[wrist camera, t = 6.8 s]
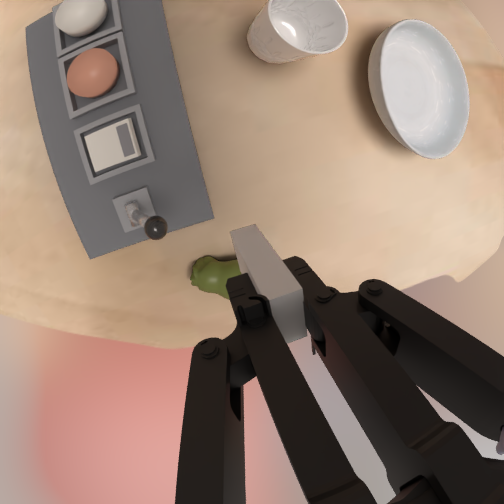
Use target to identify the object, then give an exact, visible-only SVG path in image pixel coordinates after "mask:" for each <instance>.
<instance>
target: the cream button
mask: <svg viewBox="0 0 504 504" xmlns="http://www.w3.org/2000/svg"><path fill="white" fill-rule="evenodd" d="M107 12H108V7H107V4H106V2H105V1H104V0H64V1H63V2H62V4H61V5H60V6H59V8H58V10H57V12H56V15H55V23H56V26H57V27H58V28H59V29H61V30H62V31H63V32H65V33H66V34H68V35H69V36H72V37H81V36H85V35H87V34H89V33H91V32H93V31H94V30H96V29H97V28H98V27H99V26H100V25H101V24H102V23H103V21H104V20H105V18H106V15H107Z"/></svg>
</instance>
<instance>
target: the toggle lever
mask: <svg viewBox="0 0 504 504" xmlns="http://www.w3.org/2000/svg"><path fill="white" fill-rule="evenodd" d="M124 207H125V210H126V213H127V215H128V218H129V220H130V223H131V225H132V227H136V226H139V225H141V226H143V227H144V231H145V234H146V235H147V237H149V238H150V239H152V240H159V239H161V238H163V237H164V236H165V235H166V233H167V230H168V225H167V222H166V220H165V219H164V218H163V217H161V216H157V215H155V216H151V217H150V216H148V215H146V214H145V213H143V212H141V211H140V209H139V207H138V204H137V201H136V200H133V201H130V202H128V203H126V204H125V205H124Z"/></svg>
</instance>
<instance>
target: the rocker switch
mask: <svg viewBox="0 0 504 504" xmlns="http://www.w3.org/2000/svg"><path fill="white" fill-rule="evenodd" d="M84 138H85V141H86V144H87V148H88V151H89V154H90V158H91V161H92V164H93V167H94V170H95V172H97V171H100V170H102V169H105V168H107V167H110V166H113V165H116V164H118V163H121V162H124V161H127V160H130V159H132V158H135V157H138V156H140V155H141V152H140V148H139V145H138V141H137V138H136V134H135V131H134V127H133V123H132V120H131V118H127V119H125V120H122V121H120V122H117V123H115V124H112V125H110V126H107V127H105V128H103V129H100V130H98V131H96V132H94V133H91V134H89V135H87V136H85V137H84Z"/></svg>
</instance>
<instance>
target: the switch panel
mask: <svg viewBox="0 0 504 504" xmlns="http://www.w3.org/2000/svg"><path fill="white" fill-rule="evenodd" d="M104 1H105V2H106V4H107V7H108V12H107V15H106V18H105V20H104V21H103V23H102V24H101V25H100V26H99V27H98V28H97V29H96V30H94V31H93V32H91V33H89V34H87V35H85V36H81V37H72V36H69V35H68V34H66V33H65V32H63V31H62V30H61V29H59V28H58V27H57V26H56V23H55V15H56V12H57V10H58V8H59V6H60V5H61V4H62V3H60V4H58V5H56V6H54V7H53V8H52V10H53V12H51V13H49V14H47V15H46V16H44V17H42V18H40V19H39V20H37V21H35V22H34V23H32V24H30V25H29V26H27V27H26V43H27V54H28V63H29V71H30V78H31V84H32V90H33V95H34V101H35V105H36V110H37V115H38V119H39V123H40V127H41V131H42V135H43V139H44V142H45V146H46V149H47V153H48V156H49V159H50V162H51V165H52V168H53V171H54V174H55V177H56V180H57V183H58V186H59V189H60V191H61V194H62V197H63V199H64V202H65V204H66V207H67V209H68V212H69V214H70V217H71V219H72V221H73V224H74V226H75V228H76V231H77V233H78V235H79V237H80V239H81V242H82V244H83V246H84V248H85V250H86V252H87V254H88V256H89V258H90V259H93V258H96V257H98V256H101V255H104V254H107V253H110V252H112V251H115V250H118V249H121V248H124V247H127V246H130V245H133V244H136V243H139V242H141V241H144V240H147V239H150V238H149V237H147V235H146V234H145V231H144V227H143V226H141V225H139V226H136V227H132V225H131V223H130V220H129V218H128V215H127V213H126V210H125V207H124V205H125V204H126V203H128V202H130V201H133V200H136V201H137V204H138V207H139V209H140V211H141V212H143V213H145V214H146V215H148V216H150V217H151V216H155V215H157V216H161V217H163V218H164V219H165V220H166V222H167V225H168V230H167V233H169V232H172V231H175V230H178V229H181V228H185V227H188V226H191V225H194V224H197V223H201V222H204V221H207V220H211V219H214V215H213V211H212V208H211V204H210V201H209V197H208V193H207V189H206V186H205V182H204V178H203V175H202V171H201V167H200V163H199V159H198V155H197V152H196V148H195V144H194V140H193V136H192V132H191V128H190V124H189V120H188V116H187V112H186V108H185V104H184V99H183V95H182V91H181V87H180V83H179V78H178V74H177V70H176V65H175V61H174V56H173V52H172V48H171V43H170V38H169V34H168V29H167V24H166V20H165V15H164V10H163V5H162V0H104ZM92 48H101V49H104V50H106V51H108V52H109V53H110V54H111V55H112V56H113V57H115V58H116V60H117V61H118V63H119V66H120V75H119V79H118V81H117V83H116V85H115V86H114V87H113V88H112V89H111V90H110V91H109V92H108V93H107V94H105V95H103V96H101V97H98V98H87V97H82V96H78V95H76V94H74V93H73V92H72V91H71V90H70V89H69V87H68V84H67V73H68V69H69V67H70V65H71V63H72V62H73V60H74V59H75V58H76V57H77V56H78V55H80V54H81V53H82V52H84V51H86V50H89V49H92ZM127 118H131V120H132V123H133V127H134V131H135V134H136V138H137V141H138V145H139V148H140V152H141V155H140V156H138V157H135V158H132V159H130V160H127V161H124V162H121V163H118V164H116V165H113V166H110V167H107V168H105V169H102V170H100V171H97V172H95V170H94V167H93V164H92V161H91V158H90V154H89V151H88V148H87V144H86V141H85V138H84V137H85V136H87V135H89V134H91V133H94V132H96V131H98V130H100V129H103V128H105V127H107V126H110V125H112V124H115V123H117V122H120V121H122V120H125V119H127Z"/></svg>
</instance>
